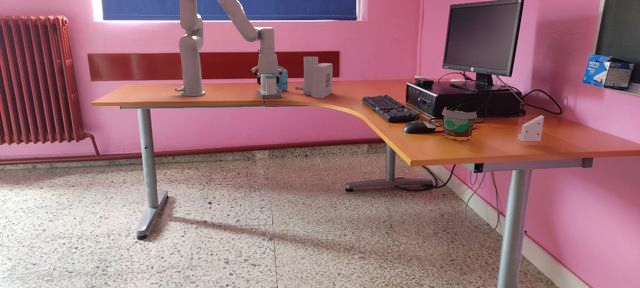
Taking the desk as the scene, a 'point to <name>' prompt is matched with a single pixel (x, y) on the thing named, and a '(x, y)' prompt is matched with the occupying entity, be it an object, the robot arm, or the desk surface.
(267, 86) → the rail
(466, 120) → the food container
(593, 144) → the desk surface
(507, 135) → the desk surface
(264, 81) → the block
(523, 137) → the white angled block
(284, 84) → the data package
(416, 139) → the desk surface
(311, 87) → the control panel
